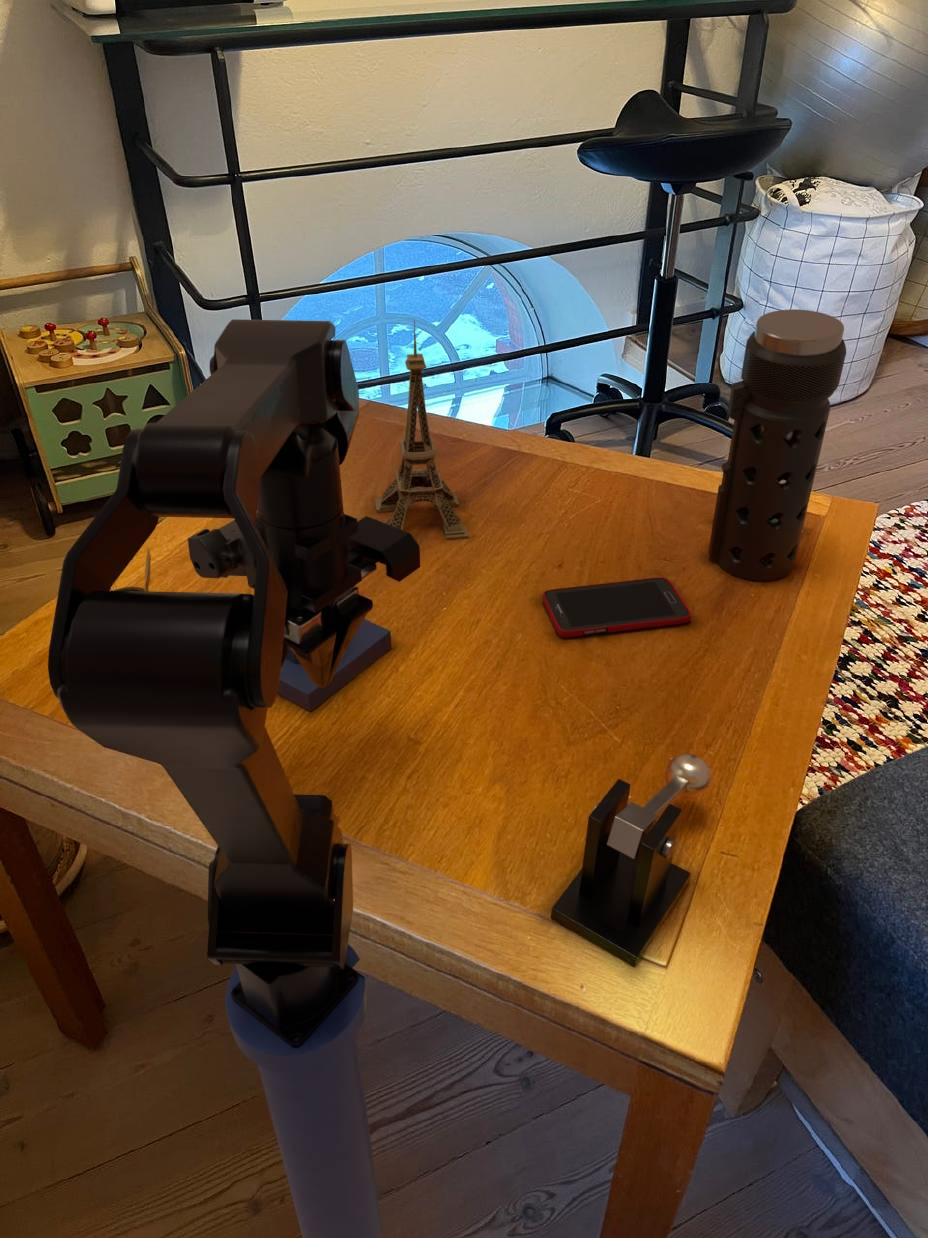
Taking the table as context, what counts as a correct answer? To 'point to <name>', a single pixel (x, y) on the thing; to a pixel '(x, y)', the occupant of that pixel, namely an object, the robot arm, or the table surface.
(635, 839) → the lever
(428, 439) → the eiffel tower
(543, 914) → the table surface
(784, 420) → the water bottle
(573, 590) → the cell phone
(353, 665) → the control box
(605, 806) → the bracket
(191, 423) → the robot arm
